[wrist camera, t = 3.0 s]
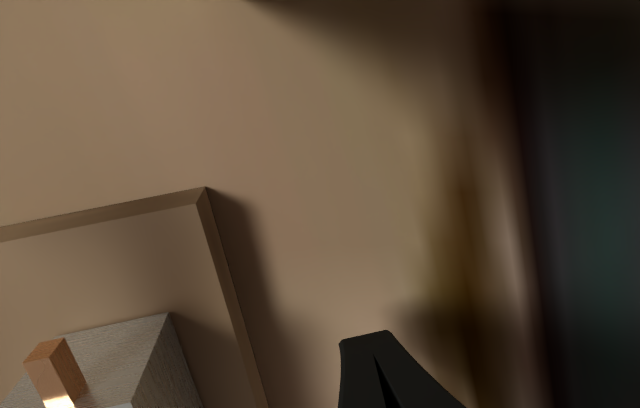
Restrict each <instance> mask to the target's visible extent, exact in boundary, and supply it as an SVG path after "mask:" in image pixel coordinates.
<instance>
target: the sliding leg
mask: <svg viewBox="0 0 640 408" xmlns="http://www.w3.org/2000/svg"><path fill="white" fill-rule="evenodd" d="M22 365H23V366H24V368H25V370H26V373H25V374H24V375H23V377H22V378H21V379H20V380H19V382H18V383H17V384H16V385H15V387H14V388H13V389H12V390H11V392H10V393H9V394H8V395H7V397H6V398H5V399H4V400H3V401H2V403H1V404H0V408H203V405H202V403H201V400H200V397H199V394H198V392H197V389H196V386H195V384H194V381H193V378H192V375H191V373H190V370H189V367H188V364H187V362H186V359H185V356H184V354H183V351H182V348H181V345H180V343H179V340H178V337H177V334H176V332H175V329H174V326H173V324H172V321H171V318H170V315H169V313H168V312H167V313H162V314H158V315H153V316H149V317H144V318H139V319H135V320H130V321H125V322H121V323H116V324H111V325H107V326H102V327H97V328H93V329H88V330H83V331H79V332H74V333H69V334H65V335H60V336H55V337H54V338H53V340H49V341H44V342H40V343H39V344H38V345H37V346H36V347H35V348H34V350H33V351H32V352H31V353H30V354H29V356H28V357H27V358H26V359H25V360H24V361H23V363H22Z"/></svg>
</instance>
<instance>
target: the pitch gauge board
mask: <svg viewBox="0 0 640 408" xmlns="http://www.w3.org/2000/svg"><path fill="white" fill-rule="evenodd" d="M167 312H168V313H169V315H170V318H171V321H172V324H173V326H174V329H175V332H176V334H177V337H178V340H179V343H180V345H181V348H182V351H183V354H184V356H185V359H186V362H187V364H188V367H189V370H190V373H191V375H192V378H193V381H194V384H195V386H196V389H197V392H198V394H199V397H200V400H201V403H202V405H203V408H269V406H268V403H267V399H266V396H265V393H264V389H263V386H262V382H261V379H260V375H259V372H258V368H257V365H256V361H255V358H254V354H253V351H252V347H251V344H250V340H249V337H248V334H247V330H246V327H245V323H244V320H243V316H242V313H241V309H240V306H239V302H238V299H237V295H236V292H235V288H234V285H233V281H232V278H231V275H230V271H229V268H228V264H227V261H226V257H225V254H224V250H223V247H222V243H221V240H220V236H219V233H218V229H217V226H216V222H215V219H214V216H213V212H212V209H211V205H210V202H209V198H208V195H207V191H206V188H205V187H200V188H195V189H190V190H185V191H180V192H175V193H170V194H165V195H160V196H155V197H150V198H144V199H139V200H134V201H129V202H124V203H119V204H114V205H109V206H104V207H99V208H94V209H89V210H84V211H79V212H74V213H69V214H64V215H59V216H54V217H48V218H43V219H38V220H33V221H28V222H23V223H18V224H13V225H8V226H3V227H0V404H1V403H2V401H3V400H4V399H5V398H6V397H7V395H8V394H9V393H10V392H11V390H12V389H13V388H14V387H15V385H16V384H17V383H18V382H19V380H20V379H21V378H22V377H23V375H24V374H25V373H26V370H25V368H24V366H23V365H22V363H23V361H24V360H25V359H26V358H27V357H28V356H29V354H30V353H31V352H32V351H33V350H34V348H35V347H36V346H37V345H38V344H39V343H40V342H44V341H49V340H53V338H54V337H55V336H60V335H65V334H69V333H74V332H79V331H83V330H88V329H93V328H97V327H102V326H107V325H111V324H116V323H121V322H125V321H130V320H135V319H139V318H144V317H149V316H153V315H158V314H162V313H167Z"/></svg>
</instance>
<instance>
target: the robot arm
mask: <svg viewBox="0 0 640 408" xmlns="http://www.w3.org/2000/svg"><path fill="white" fill-rule="evenodd" d="M339 348H340V355H341V381H340V391H339V401H338V408H466V407H465V406H464V405H463V404H461V403H460V402H459V401H458V400H457V399H456V398H454V397H453V396H452V395H451V394H450V393H449V392H448V391H447V390H446V389H444V388H443V387H442V386H441V385H440V384H439V383H438V382H437V381H436V380H435V379H434V378H433V377H432V376H431V375H430V374H429V373H428V372H427V371H426V370H425V369H424V368H423V367H422V366H421V365H420V364H419V363H418V362H417V361H416V360H415V359H414V358H413V357H412V356H411V355H410V354H409V353H408V352H407V351H406V350H405V348H404V347H403V346H402V345H401V344H400V343H399V342H398V340H397V339H396V338H395V337H394V336H393V334H392V333H391V332H390V331H388V330H383V331H378V332H374V333H370V334H365V335H361V336H356V337H352V338H347V339H343V340H342V341H341V342H340V343H339Z"/></svg>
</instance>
